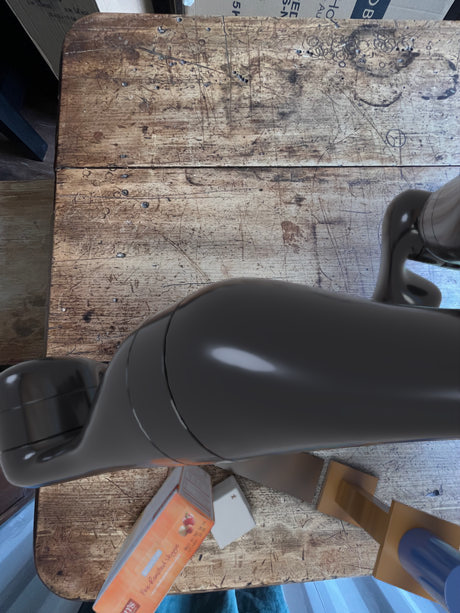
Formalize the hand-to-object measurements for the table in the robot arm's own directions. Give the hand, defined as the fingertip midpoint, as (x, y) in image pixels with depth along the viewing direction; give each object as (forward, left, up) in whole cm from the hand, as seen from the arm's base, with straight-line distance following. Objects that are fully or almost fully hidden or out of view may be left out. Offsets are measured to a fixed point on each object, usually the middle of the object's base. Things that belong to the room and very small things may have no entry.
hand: (344, 435), depth 57 cm
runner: (-8, -8, -7) cm, 14 cm away
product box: (-12, -16, -7) cm, 22 cm away
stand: (+6, -8, -7) cm, 12 cm away
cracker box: (-20, -19, -7) cm, 29 cm away
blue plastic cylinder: (+6, -8, +15) cm, 18 cm away
